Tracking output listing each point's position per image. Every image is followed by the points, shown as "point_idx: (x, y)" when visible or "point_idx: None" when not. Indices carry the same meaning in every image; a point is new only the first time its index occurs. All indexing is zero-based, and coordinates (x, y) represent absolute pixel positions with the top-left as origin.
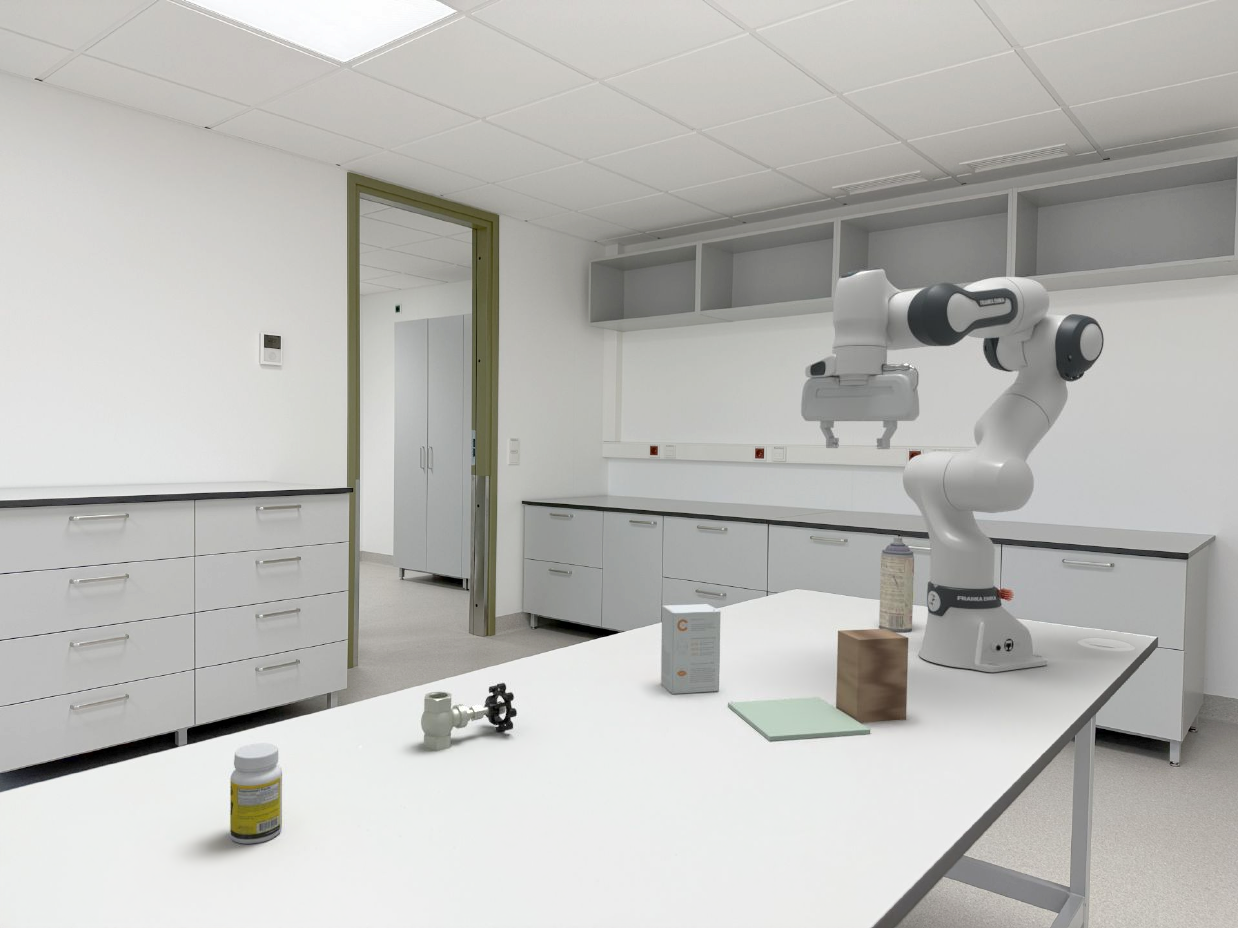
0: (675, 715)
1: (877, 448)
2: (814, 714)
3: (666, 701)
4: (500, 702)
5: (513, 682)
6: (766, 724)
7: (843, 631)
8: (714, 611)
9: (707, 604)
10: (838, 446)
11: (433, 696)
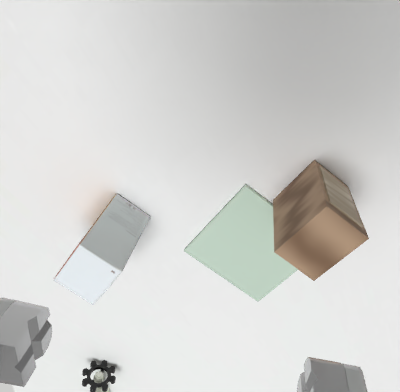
0: (166, 288)
1: (299, 387)
2: (265, 237)
3: (136, 264)
4: (98, 380)
5: (14, 290)
6: (242, 281)
7: (282, 252)
8: (117, 275)
9: (83, 247)
10: (42, 308)
11: None
